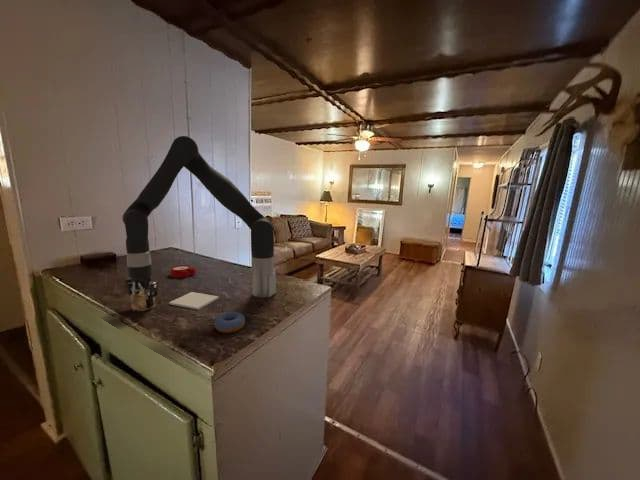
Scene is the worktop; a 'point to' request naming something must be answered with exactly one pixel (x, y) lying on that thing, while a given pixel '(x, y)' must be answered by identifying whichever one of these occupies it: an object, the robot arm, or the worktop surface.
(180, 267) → the alarm clock
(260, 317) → the worktop surface
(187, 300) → the plate
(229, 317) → the doughnut
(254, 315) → the worktop surface
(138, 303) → the maple block
